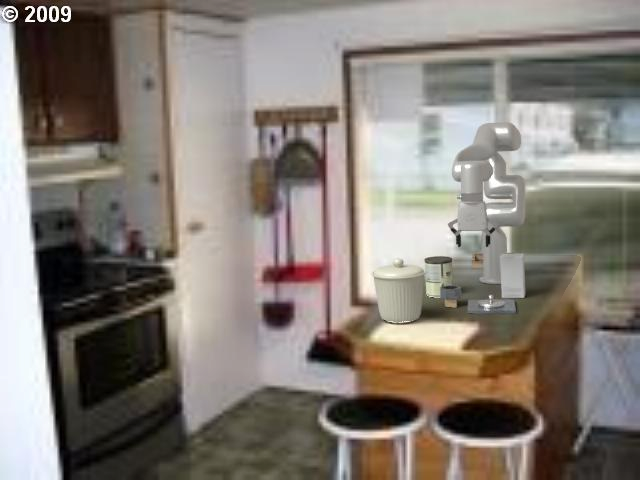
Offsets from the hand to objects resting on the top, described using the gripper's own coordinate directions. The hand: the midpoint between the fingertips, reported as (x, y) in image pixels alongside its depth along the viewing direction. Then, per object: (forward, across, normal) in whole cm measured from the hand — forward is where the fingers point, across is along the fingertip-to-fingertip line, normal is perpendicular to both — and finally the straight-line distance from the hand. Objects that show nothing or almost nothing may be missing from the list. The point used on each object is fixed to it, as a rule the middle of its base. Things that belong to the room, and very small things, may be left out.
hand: (473, 246), depth 278 cm
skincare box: (+21, +12, +14) cm, 28 cm away
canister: (+22, -22, -23) cm, 38 cm away
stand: (+21, -8, -1) cm, 23 cm away
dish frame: (+20, 0, +76) cm, 79 cm away
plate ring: (+18, -8, -1) cm, 20 cm away
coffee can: (+21, -15, +14) cm, 29 cm away
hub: (+21, +6, -4) cm, 22 cm away
